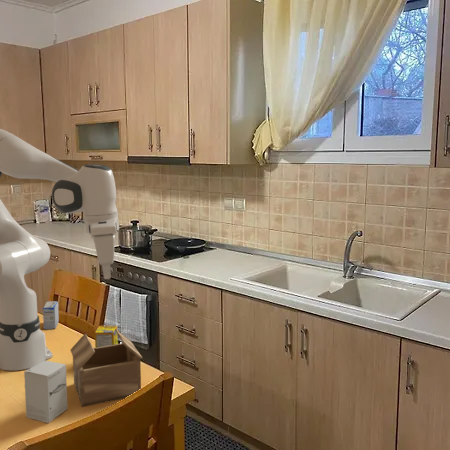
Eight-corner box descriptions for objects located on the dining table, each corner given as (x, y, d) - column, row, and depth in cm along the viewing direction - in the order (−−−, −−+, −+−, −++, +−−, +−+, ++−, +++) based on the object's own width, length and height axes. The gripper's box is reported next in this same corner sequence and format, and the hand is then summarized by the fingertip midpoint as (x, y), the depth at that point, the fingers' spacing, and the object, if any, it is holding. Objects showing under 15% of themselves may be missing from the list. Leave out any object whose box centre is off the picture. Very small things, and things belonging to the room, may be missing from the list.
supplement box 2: (118, 357, 158) (117, 325, 157) (114, 365, 153) (113, 332, 151) (100, 357, 158) (99, 325, 157) (95, 365, 152) (94, 332, 151)
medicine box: (47, 322, 189) (46, 301, 188) (59, 321, 190) (58, 300, 189) (43, 329, 182) (42, 307, 180) (55, 329, 183) (54, 307, 181)
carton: (74, 383, 140) (72, 351, 139) (128, 373, 147) (127, 342, 145) (81, 407, 128) (80, 371, 126) (141, 394, 134) (140, 360, 133)
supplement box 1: (48, 424, 120) (46, 376, 118) (25, 417, 122) (22, 370, 120) (68, 409, 126) (66, 363, 124) (46, 403, 129) (43, 359, 127)
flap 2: (114, 330, 143) (115, 328, 143) (128, 341, 145) (130, 340, 145) (125, 347, 131) (126, 345, 131) (141, 359, 133) (142, 357, 133)
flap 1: (71, 350, 138) (70, 349, 138) (86, 334, 139) (85, 333, 139) (79, 370, 126) (77, 369, 126) (95, 352, 127) (93, 351, 127)
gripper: (89, 221, 139) (93, 268, 141) (90, 230, 119) (95, 284, 121) (112, 219, 141) (116, 266, 142) (116, 227, 121) (121, 281, 123)
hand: (106, 274), depth 132 cm, fingers open, 8 cm apart
